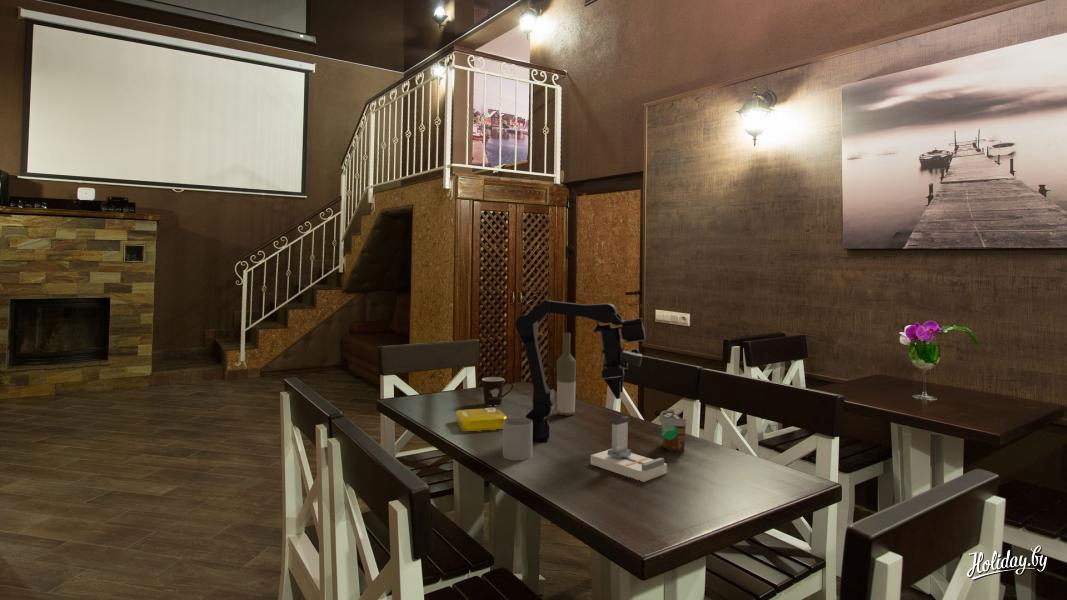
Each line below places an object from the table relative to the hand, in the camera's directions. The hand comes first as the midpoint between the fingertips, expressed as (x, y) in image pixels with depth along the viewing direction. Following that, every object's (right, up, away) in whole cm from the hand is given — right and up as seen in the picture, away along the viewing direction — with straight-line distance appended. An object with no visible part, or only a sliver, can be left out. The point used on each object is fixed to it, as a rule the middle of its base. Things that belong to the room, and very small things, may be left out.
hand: (619, 395), depth 180 cm
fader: (-3, -13, -18) cm, 23 cm away
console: (-1, -16, -20) cm, 26 cm away
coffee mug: (-40, -12, +52) cm, 67 cm away
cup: (-31, -16, -10) cm, 36 cm away
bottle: (-14, -13, +38) cm, 43 cm away
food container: (+15, -16, 0) cm, 22 cm away
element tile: (-44, -14, +23) cm, 52 cm away
